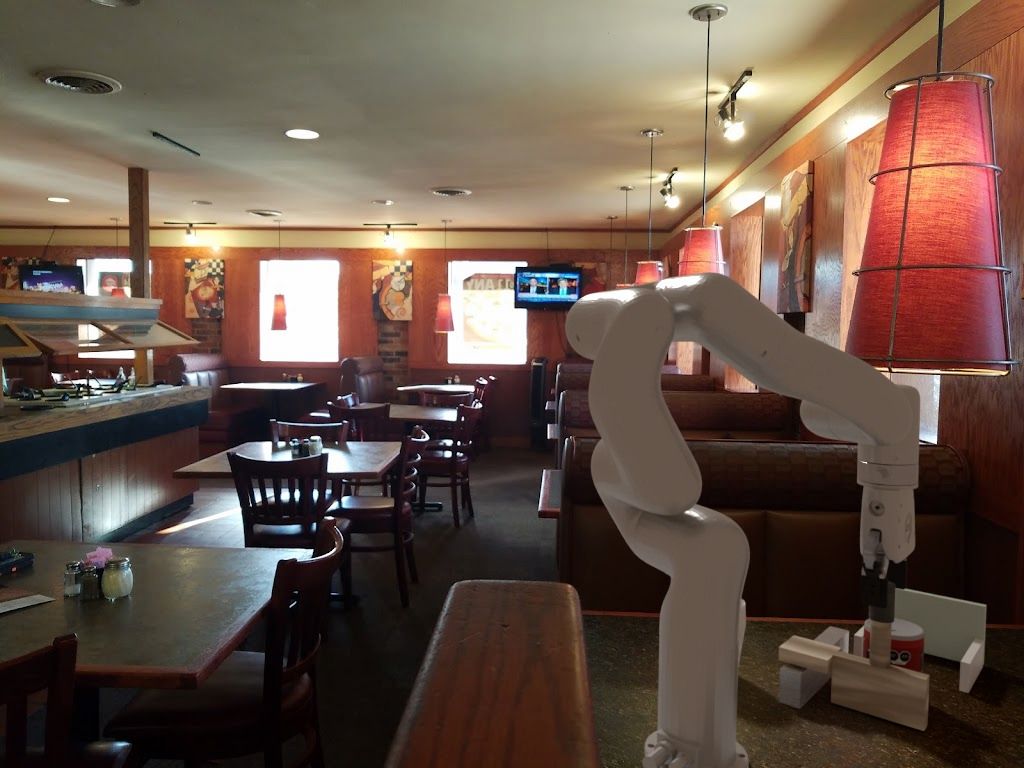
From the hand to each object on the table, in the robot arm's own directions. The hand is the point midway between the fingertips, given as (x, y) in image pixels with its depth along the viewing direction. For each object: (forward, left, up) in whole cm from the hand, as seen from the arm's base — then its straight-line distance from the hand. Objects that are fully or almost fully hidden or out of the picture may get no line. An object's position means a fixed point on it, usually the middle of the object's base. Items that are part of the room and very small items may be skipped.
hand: (884, 596), depth 103 cm
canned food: (+7, 0, -17) cm, 19 cm away
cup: (-3, +23, -17) cm, 29 cm away
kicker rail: (+6, +11, -17) cm, 21 cm away
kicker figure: (0, +4, -17) cm, 17 cm away
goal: (+23, 0, -17) cm, 28 cm away
